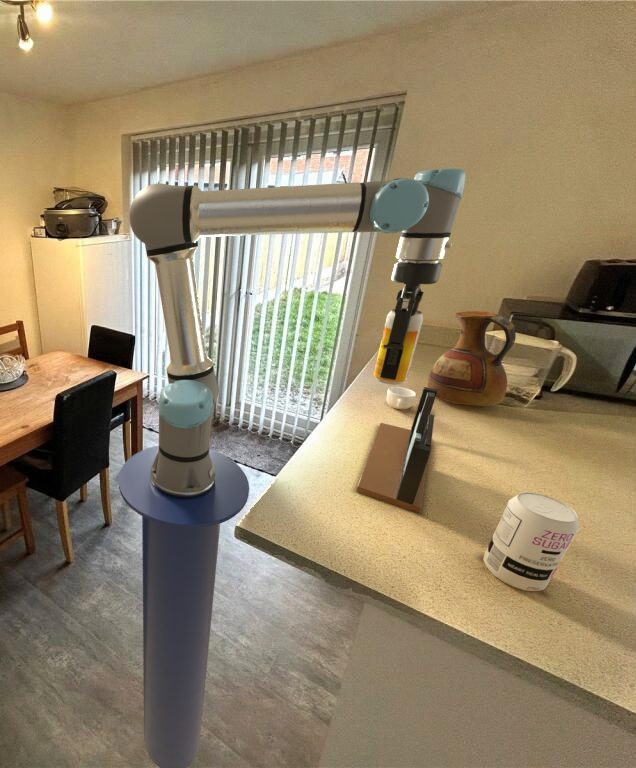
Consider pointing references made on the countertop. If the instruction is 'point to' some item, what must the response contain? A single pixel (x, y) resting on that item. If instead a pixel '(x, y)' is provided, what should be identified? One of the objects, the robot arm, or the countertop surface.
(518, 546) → the supplement can
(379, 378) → the yellow drink can
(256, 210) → the robot arm
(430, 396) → the black slab
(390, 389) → the teacup
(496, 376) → the ceramic pitcher
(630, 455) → the countertop surface
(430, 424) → the brown base with upright
